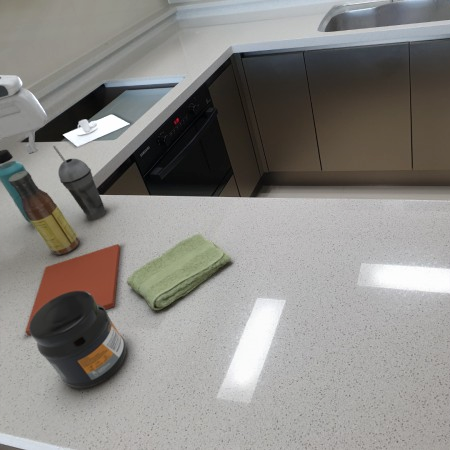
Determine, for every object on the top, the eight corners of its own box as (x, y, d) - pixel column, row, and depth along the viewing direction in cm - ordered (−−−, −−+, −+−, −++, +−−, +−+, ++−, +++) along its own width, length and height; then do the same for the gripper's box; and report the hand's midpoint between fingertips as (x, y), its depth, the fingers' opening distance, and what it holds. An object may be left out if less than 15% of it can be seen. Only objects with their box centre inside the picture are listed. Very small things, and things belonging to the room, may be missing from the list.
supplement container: (140, 355, 75) (108, 303, 68) (81, 403, 69) (40, 352, 62) (110, 328, 81) (78, 279, 74) (54, 370, 76) (14, 321, 69)
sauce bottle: (70, 237, 110) (25, 164, 99) (85, 242, 107) (41, 167, 96) (46, 254, 106) (-3, 180, 95) (62, 259, 103) (13, 184, 91)
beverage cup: (117, 208, 117) (80, 137, 106) (94, 224, 113) (53, 152, 101) (99, 204, 121) (62, 135, 110) (76, 220, 116) (35, 149, 105)
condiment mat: (28, 335, 84) (25, 331, 84) (47, 270, 100) (45, 266, 100) (114, 306, 86) (112, 302, 85) (120, 247, 102) (118, 243, 102)
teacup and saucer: (96, 124, 176) (91, 114, 174) (103, 128, 171) (98, 117, 168) (74, 133, 173) (69, 123, 170) (80, 137, 167) (75, 127, 165)
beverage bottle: (32, 231, 116) (-14, 162, 105) (27, 222, 121) (-18, 155, 110) (57, 218, 119) (15, 150, 108) (51, 210, 124) (10, 143, 112)
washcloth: (236, 261, 90) (231, 249, 88) (158, 317, 81) (151, 304, 79) (200, 239, 98) (195, 227, 96) (126, 287, 90) (119, 275, 88)
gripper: (-97, 115, 82) (-48, 181, 89) (19, 82, 84) (57, 150, 92) (-82, 104, 87) (-37, 168, 95) (27, 73, 89) (62, 138, 97)
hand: (10, 158), depth 93 cm, fingers open, 8 cm apart
